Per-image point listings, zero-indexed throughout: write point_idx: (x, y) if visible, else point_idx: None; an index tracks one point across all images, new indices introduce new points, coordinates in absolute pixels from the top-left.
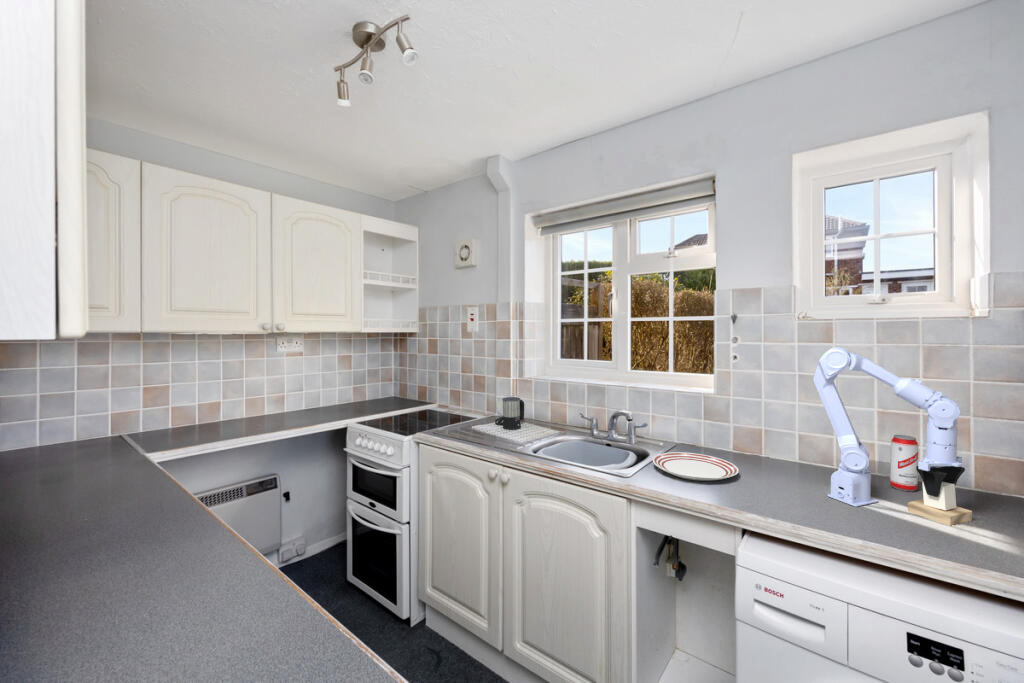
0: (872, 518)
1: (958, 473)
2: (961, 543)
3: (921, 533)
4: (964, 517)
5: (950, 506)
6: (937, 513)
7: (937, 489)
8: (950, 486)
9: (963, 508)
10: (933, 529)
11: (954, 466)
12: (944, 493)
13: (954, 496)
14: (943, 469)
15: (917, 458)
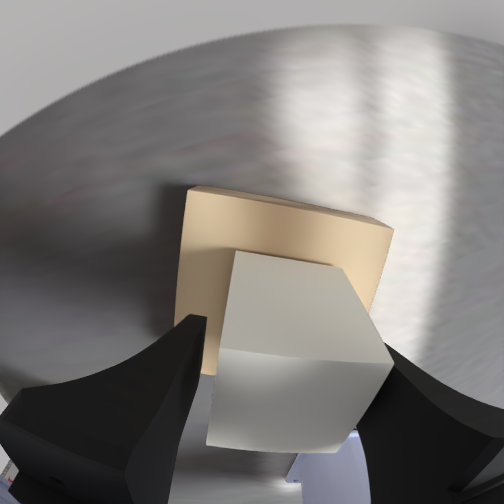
0: (469, 369)
1: (152, 424)
2: (494, 156)
3: (500, 255)
4: (264, 199)
5: (294, 267)
6: (377, 280)
7: (414, 365)
8: (295, 348)
9: (184, 230)
10: (451, 246)
11: (77, 499)
12: (374, 326)
13: (242, 286)
14: (160, 501)
15: (12, 481)
